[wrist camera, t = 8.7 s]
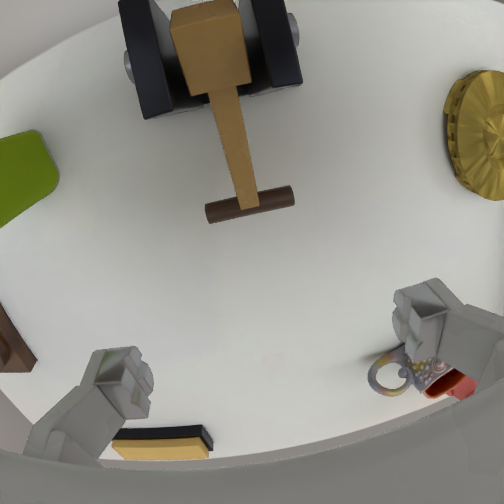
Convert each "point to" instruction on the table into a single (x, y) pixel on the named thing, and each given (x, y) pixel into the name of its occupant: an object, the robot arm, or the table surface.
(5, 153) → the vape
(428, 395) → the mug
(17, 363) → the button block
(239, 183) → the switch lever
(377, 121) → the table surface
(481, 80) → the gold round metal disc
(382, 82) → the table surface
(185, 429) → the whetstone on a base
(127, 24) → the switch bracket
